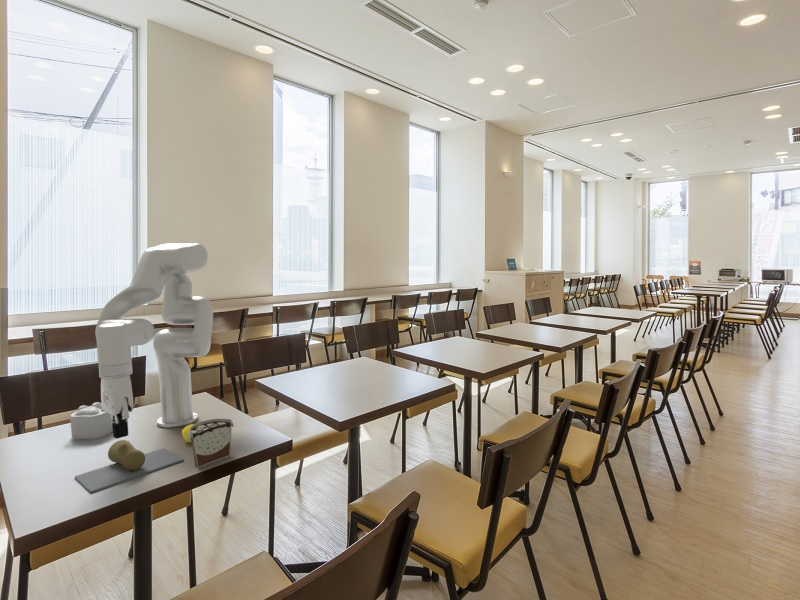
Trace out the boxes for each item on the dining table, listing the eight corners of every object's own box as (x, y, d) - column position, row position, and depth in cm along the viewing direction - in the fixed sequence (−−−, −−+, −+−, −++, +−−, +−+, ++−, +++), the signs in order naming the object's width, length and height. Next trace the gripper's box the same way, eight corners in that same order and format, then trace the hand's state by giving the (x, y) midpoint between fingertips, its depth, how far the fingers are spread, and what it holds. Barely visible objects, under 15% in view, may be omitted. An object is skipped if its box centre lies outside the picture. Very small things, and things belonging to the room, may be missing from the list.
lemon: (207, 440, 141) (209, 423, 140) (196, 447, 136) (197, 430, 135) (187, 435, 142) (188, 419, 142) (175, 442, 137) (176, 425, 136)
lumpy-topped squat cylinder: (66, 439, 142) (64, 412, 141) (93, 424, 155) (91, 399, 154) (100, 439, 142) (98, 411, 141) (124, 423, 155) (122, 398, 154)
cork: (103, 461, 123) (119, 472, 116) (113, 438, 124) (129, 448, 117) (126, 463, 127) (143, 475, 120) (136, 441, 129) (152, 451, 122)
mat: (74, 478, 117) (74, 476, 117) (164, 449, 134) (164, 447, 134) (90, 493, 109) (90, 491, 109) (183, 460, 126) (183, 459, 126)
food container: (223, 448, 134) (221, 414, 133) (235, 453, 130) (233, 419, 129) (180, 463, 124) (178, 427, 123) (192, 470, 120) (189, 433, 119)
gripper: (90, 368, 124) (95, 434, 126) (110, 377, 115) (115, 448, 116) (120, 363, 130) (125, 426, 132) (142, 371, 120) (147, 439, 122)
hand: (120, 436), depth 124 cm, fingers closed
